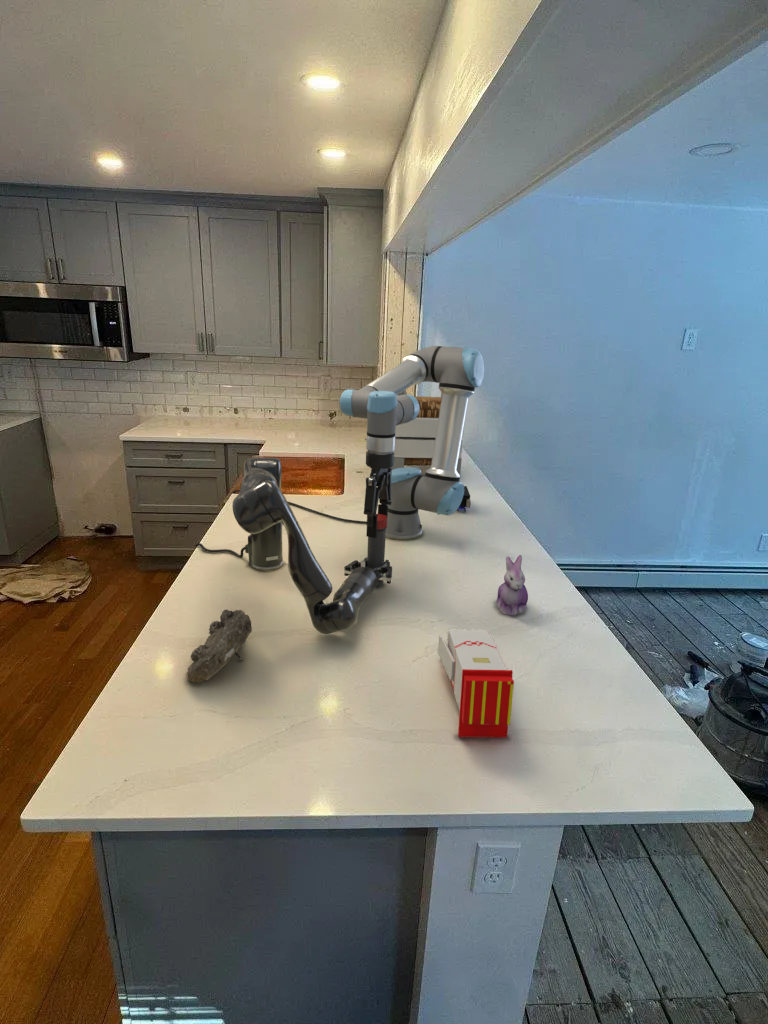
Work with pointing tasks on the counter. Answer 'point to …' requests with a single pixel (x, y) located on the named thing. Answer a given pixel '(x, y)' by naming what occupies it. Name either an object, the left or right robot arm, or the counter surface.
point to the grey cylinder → (376, 551)
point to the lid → (381, 521)
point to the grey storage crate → (419, 436)
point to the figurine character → (465, 500)
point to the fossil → (219, 645)
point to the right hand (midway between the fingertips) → (376, 531)
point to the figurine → (512, 589)
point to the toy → (478, 682)
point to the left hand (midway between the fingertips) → (378, 561)
